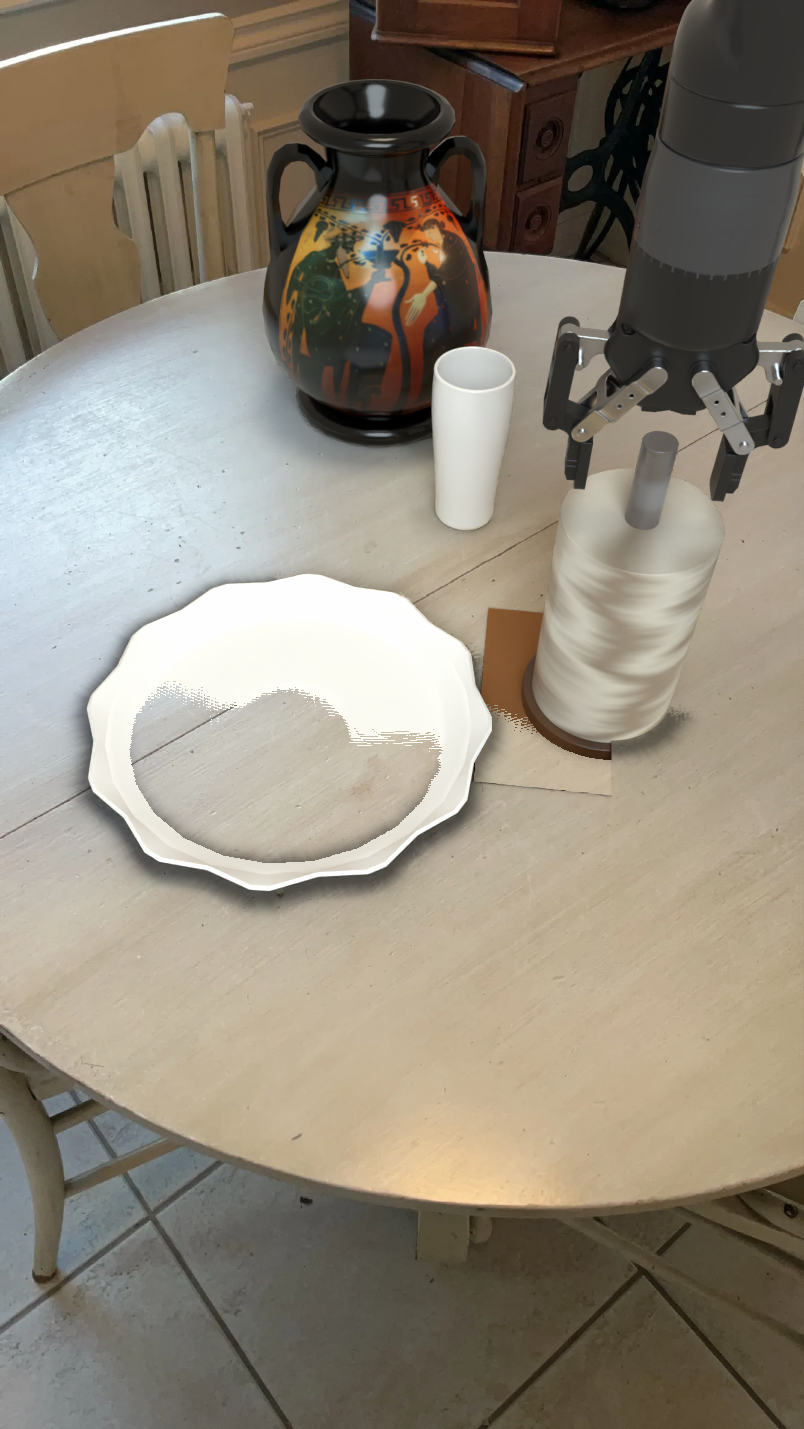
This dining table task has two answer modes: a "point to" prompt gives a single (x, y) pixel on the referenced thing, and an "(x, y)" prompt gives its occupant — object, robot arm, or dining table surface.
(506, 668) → the cork mat
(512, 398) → the drinking glass
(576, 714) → the towel holder
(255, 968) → the dining table surface
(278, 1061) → the dining table surface
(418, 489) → the dining table surface
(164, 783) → the dining table surface
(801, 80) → the robot arm
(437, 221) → the amphora vase
